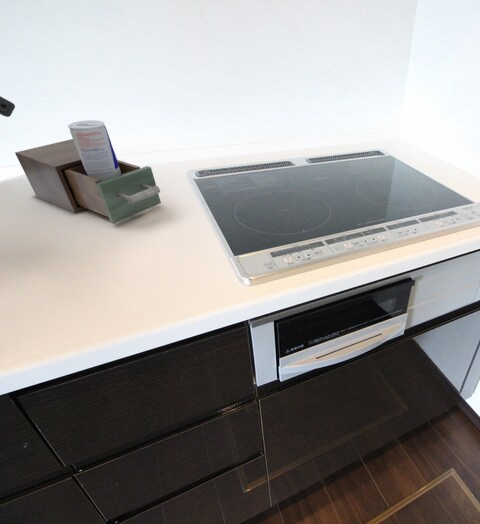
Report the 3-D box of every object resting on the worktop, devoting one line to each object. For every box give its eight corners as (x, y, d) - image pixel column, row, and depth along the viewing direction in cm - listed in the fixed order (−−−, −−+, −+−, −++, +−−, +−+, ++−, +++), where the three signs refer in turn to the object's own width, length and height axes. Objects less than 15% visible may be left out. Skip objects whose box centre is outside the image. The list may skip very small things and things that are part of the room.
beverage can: (135, 198, 75) (110, 122, 66) (108, 208, 71) (78, 129, 62) (118, 191, 77) (92, 117, 68) (91, 200, 73) (60, 123, 64)
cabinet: (128, 192, 81) (114, 150, 75) (75, 213, 72) (54, 166, 67) (90, 179, 86) (74, 138, 80) (36, 196, 77) (14, 152, 72)
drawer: (175, 208, 74) (166, 171, 70) (128, 229, 67) (114, 190, 62) (122, 189, 80) (110, 154, 76) (74, 207, 73) (57, 169, 68)
